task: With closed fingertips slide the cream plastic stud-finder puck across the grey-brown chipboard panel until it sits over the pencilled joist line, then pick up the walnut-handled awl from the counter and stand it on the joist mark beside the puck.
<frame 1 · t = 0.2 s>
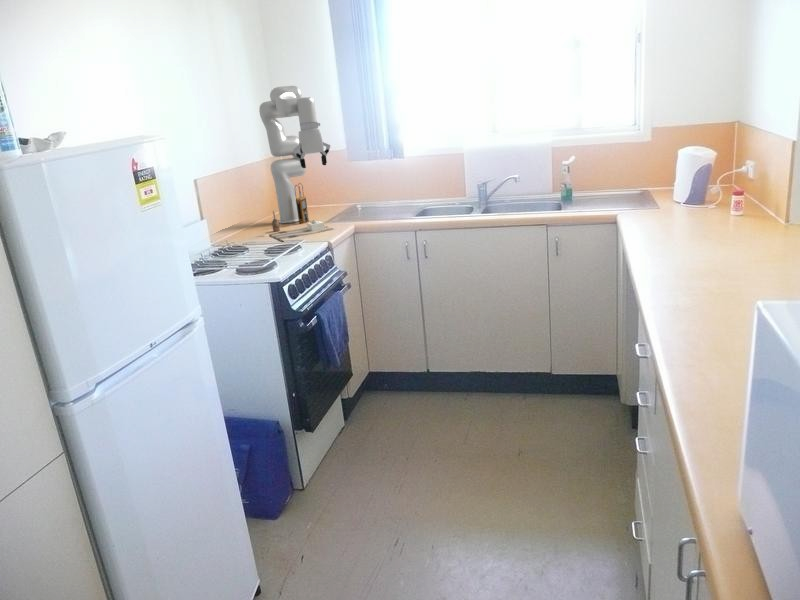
hand: (314, 166, 294), 30 cm above the countertop, tool pointing down, fingers open, 9 cm apart
finder puck: (316, 229, 309), point 1 cm above the countertop, touching subfloor panel
multimeter: (311, 223, 331), on the countertop
awl: (277, 233, 314), on the countertop
subfloor panel: (302, 234, 306), on the countertop
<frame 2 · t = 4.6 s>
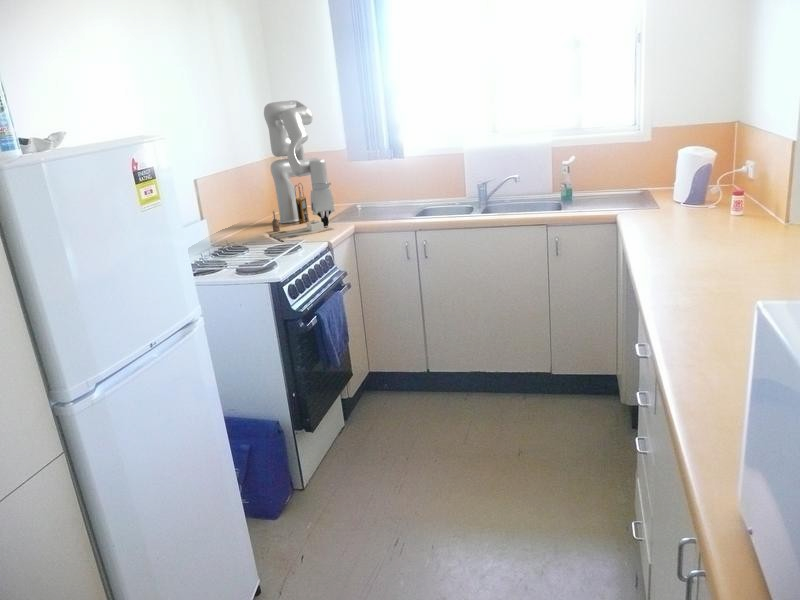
hand: (325, 225, 310), 2 cm above the countertop, tool pointing down, fingers closed
finder puck: (315, 229, 309), point 1 cm above the countertop, touching gripper
everything else where it was.
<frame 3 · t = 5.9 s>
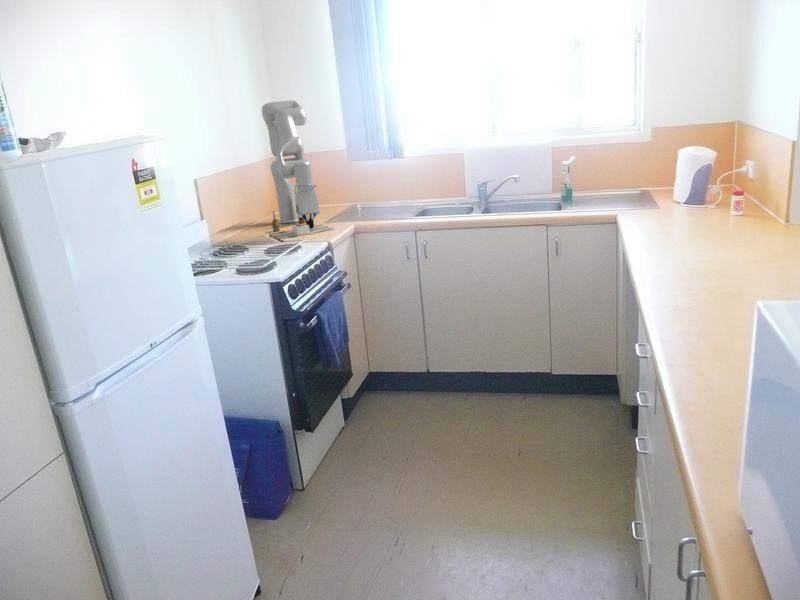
hand: (310, 228, 307), 2 cm above the countertop, tool pointing down, fingers closed
finder puck: (301, 232, 305), point 1 cm above the countertop, touching gripper
everything else where it was.
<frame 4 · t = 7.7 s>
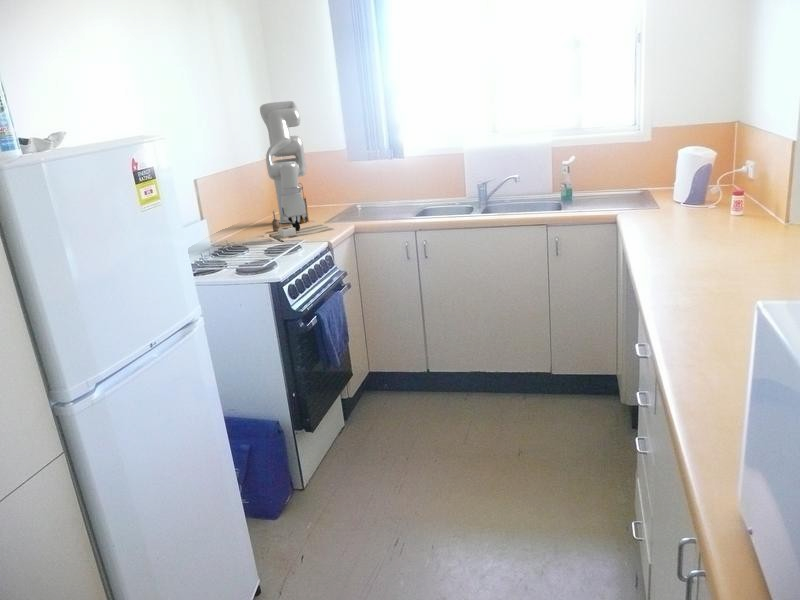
hand: (296, 231, 304), 2 cm above the countertop, tool pointing down, fingers closed
finder puck: (287, 234, 302), point 1 cm above the countertop, touching gripper, subfloor panel
everything else where it was.
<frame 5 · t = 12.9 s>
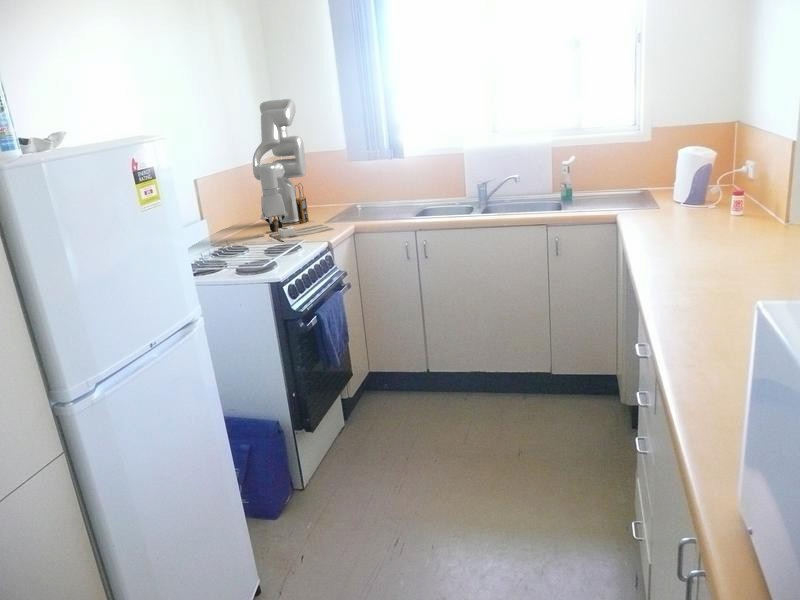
hand: (276, 230, 313), 1 cm above the countertop, tool pointing down, fingers closed on awl, 3 cm apart
finder puck: (287, 234, 302), point 1 cm above the countertop, touching subfloor panel
awl: (277, 233, 314), on the countertop, touching gripper
everything else where it was.
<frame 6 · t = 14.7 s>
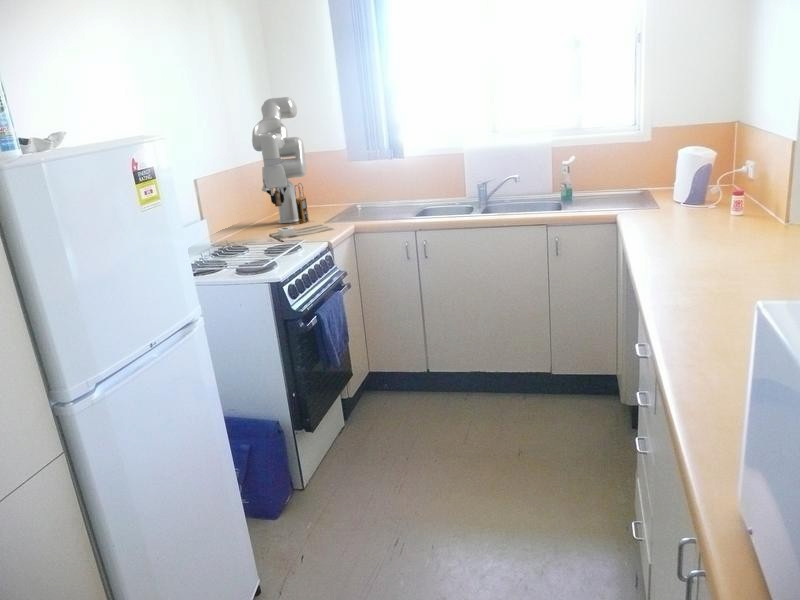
hand: (278, 202, 305), 15 cm above the countertop, tool pointing down, fingers closed on awl, 3 cm apart
awl: (278, 205, 305), point 14 cm above the countertop, touching gripper
everything else where it was.
when the fingers open (4 cm above the countertop, at t = 16.8 s): awl drops 2 cm, resting on subfloor panel.
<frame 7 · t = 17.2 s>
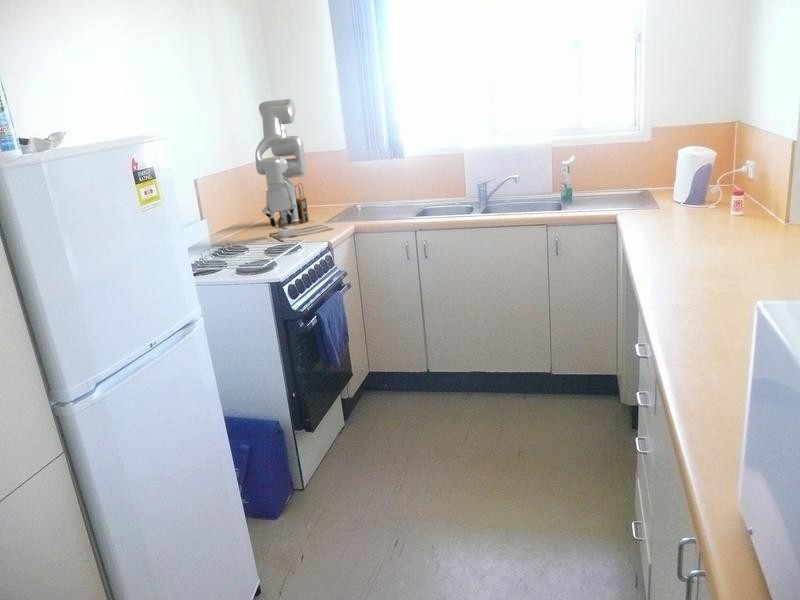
hand: (281, 224, 308), 5 cm above the countertop, tool pointing down, fingers open, 7 cm apart
awl: (282, 232, 309), point 1 cm above the countertop, touching subfloor panel
everything else where it was.
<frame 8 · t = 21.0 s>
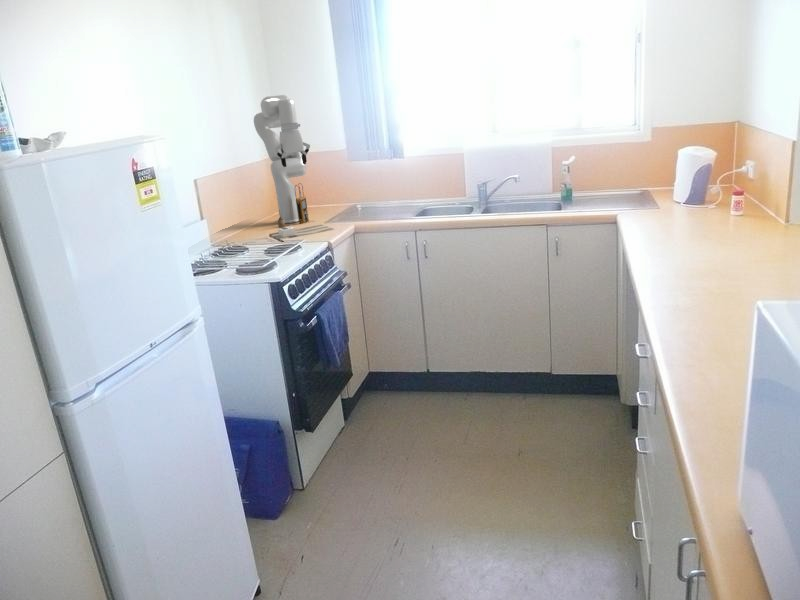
hand: (294, 165, 309), 30 cm above the countertop, tool pointing down, fingers open, 9 cm apart
nothing on the countertop moved.
at the end: finder puck inside the target area (1.0 cm from its centre), point 1.2 cm above the countertop; awl inside the target area (0.3 cm from its centre), point 1.3 cm above the countertop; awl tilted 0° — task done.
